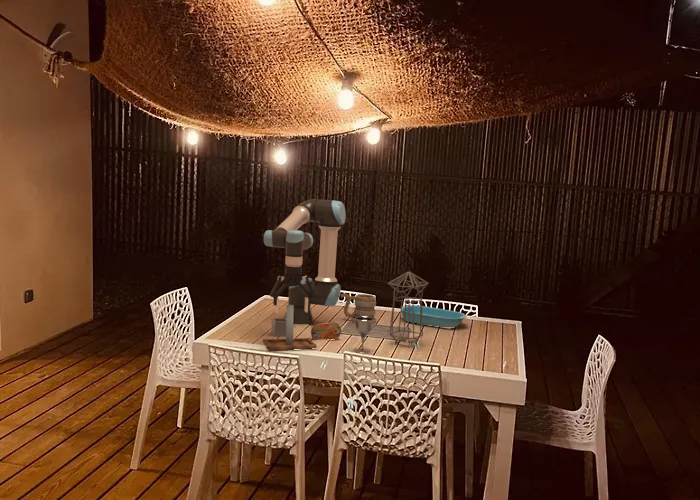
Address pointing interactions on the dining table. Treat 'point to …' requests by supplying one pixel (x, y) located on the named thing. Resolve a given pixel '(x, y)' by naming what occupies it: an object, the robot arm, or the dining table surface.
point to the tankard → (360, 306)
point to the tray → (297, 344)
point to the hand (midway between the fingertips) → (291, 312)
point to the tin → (325, 331)
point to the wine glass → (363, 330)
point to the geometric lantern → (409, 305)
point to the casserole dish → (433, 316)
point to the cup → (278, 327)
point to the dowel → (289, 324)
